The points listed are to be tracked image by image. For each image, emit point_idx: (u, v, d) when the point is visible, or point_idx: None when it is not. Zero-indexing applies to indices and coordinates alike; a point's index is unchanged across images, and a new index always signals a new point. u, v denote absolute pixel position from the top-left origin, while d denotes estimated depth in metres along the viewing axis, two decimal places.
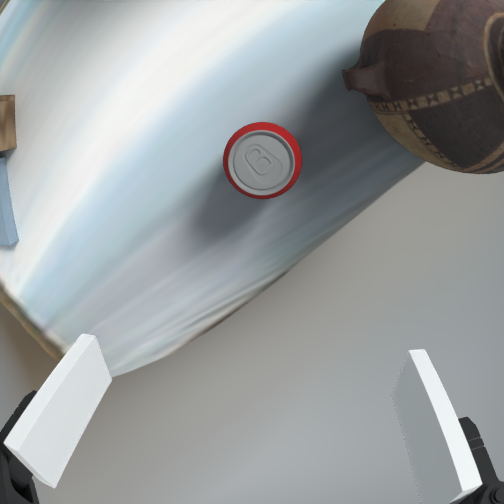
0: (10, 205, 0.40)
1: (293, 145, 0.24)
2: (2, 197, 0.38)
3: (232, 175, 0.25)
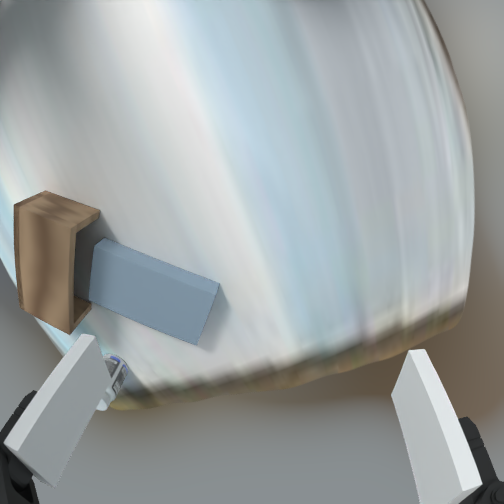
0: (166, 264, 0.35)
1: None
2: (146, 264, 0.33)
3: None
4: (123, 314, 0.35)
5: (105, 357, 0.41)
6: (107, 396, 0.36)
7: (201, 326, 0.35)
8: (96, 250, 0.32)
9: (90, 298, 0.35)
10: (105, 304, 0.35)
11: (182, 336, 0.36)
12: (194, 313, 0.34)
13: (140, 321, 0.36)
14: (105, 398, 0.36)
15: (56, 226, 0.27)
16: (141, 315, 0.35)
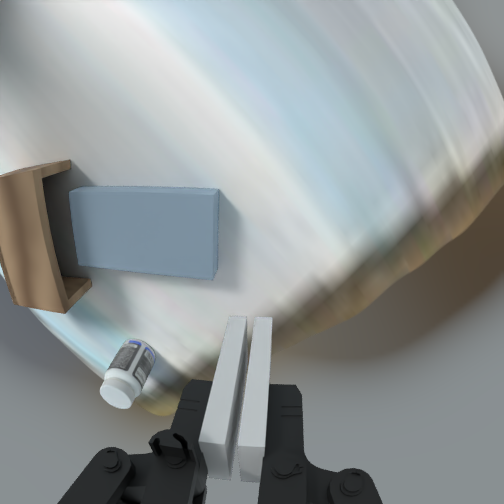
0: (151, 187, 0.28)
1: None
2: (127, 190, 0.27)
3: None
4: (117, 267, 0.29)
5: (123, 344, 0.35)
6: (128, 386, 0.30)
7: (210, 248, 0.27)
8: (71, 196, 0.26)
9: (79, 262, 0.29)
10: (96, 262, 0.29)
11: (192, 272, 0.29)
12: (195, 232, 0.27)
13: (138, 269, 0.29)
14: (125, 389, 0.29)
15: (20, 177, 0.22)
16: (137, 261, 0.29)
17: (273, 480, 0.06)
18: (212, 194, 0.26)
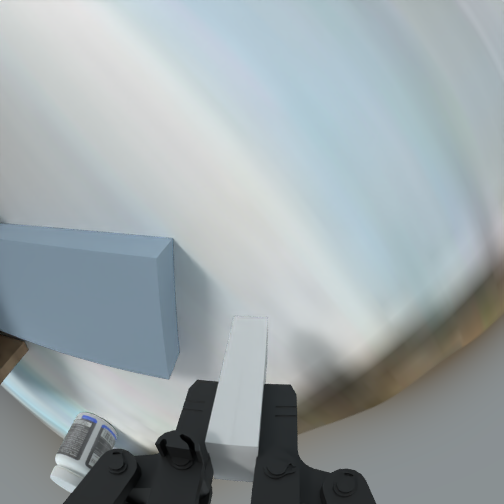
0: (71, 231, 0.16)
1: None
2: (34, 238, 0.15)
3: None
4: (41, 343, 0.17)
5: (76, 418, 0.23)
6: (81, 478, 0.18)
7: (159, 339, 0.16)
8: None
9: (0, 327, 0.17)
10: (16, 332, 0.17)
11: (138, 367, 0.17)
12: (134, 314, 0.15)
13: (66, 351, 0.17)
14: (78, 482, 0.17)
15: None
16: (62, 340, 0.17)
17: (266, 480, 0.06)
18: (155, 255, 0.14)
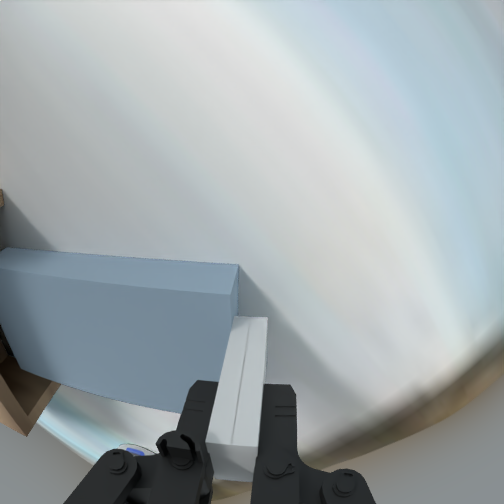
0: (107, 259, 0.14)
1: None
2: (61, 269, 0.13)
3: None
4: (73, 385, 0.15)
5: None
6: None
7: None
8: None
9: (21, 365, 0.15)
10: (42, 372, 0.15)
11: None
12: (196, 357, 0.13)
13: (105, 394, 0.15)
14: None
15: None
16: (100, 384, 0.15)
17: (266, 480, 0.06)
18: (227, 291, 0.12)
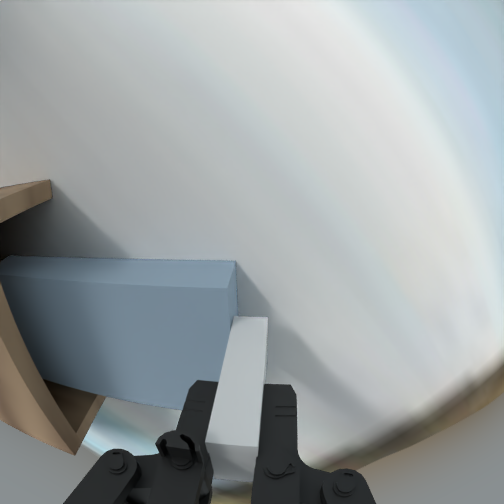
0: (107, 260, 0.14)
1: None
2: (63, 272, 0.13)
3: None
4: (80, 387, 0.16)
5: None
6: None
7: None
8: None
9: None
10: (49, 376, 0.16)
11: None
12: (198, 352, 0.13)
13: (112, 394, 0.15)
14: None
15: None
16: (106, 384, 0.15)
17: (266, 480, 0.06)
18: (224, 285, 0.12)
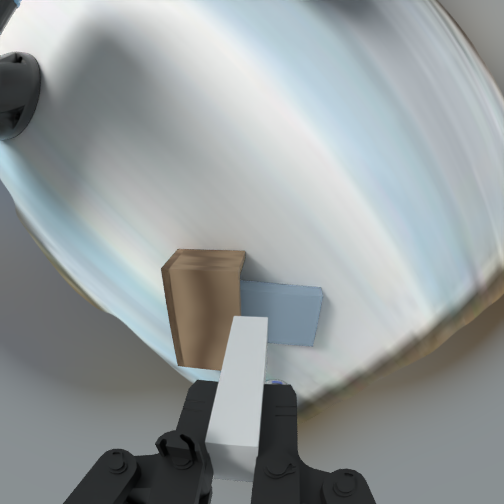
0: (272, 284, 0.41)
1: None
2: (256, 288, 0.39)
3: None
4: None
5: None
6: None
7: (314, 328, 0.40)
8: None
9: None
10: None
11: (299, 342, 0.41)
12: (306, 318, 0.40)
13: None
14: None
15: (220, 274, 0.34)
16: None
17: (266, 480, 0.06)
18: (321, 296, 0.38)
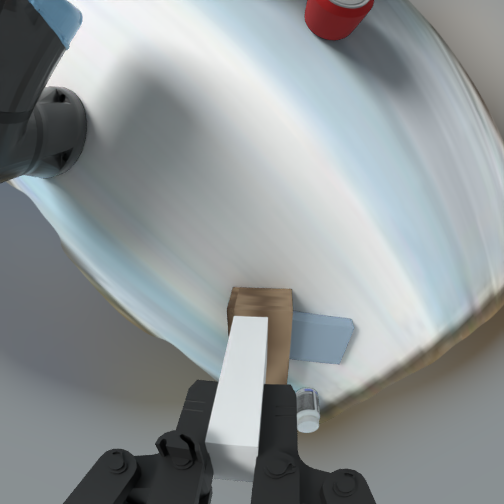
0: (314, 315, 0.48)
1: None
2: (303, 318, 0.47)
3: (357, 5, 0.21)
4: None
5: (300, 392, 0.55)
6: (317, 418, 0.49)
7: (343, 350, 0.48)
8: None
9: None
10: None
11: (329, 361, 0.49)
12: (338, 343, 0.48)
13: (297, 358, 0.49)
14: (317, 420, 0.49)
15: (278, 313, 0.42)
16: (298, 354, 0.49)
17: (266, 480, 0.06)
18: (353, 327, 0.46)
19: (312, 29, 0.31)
